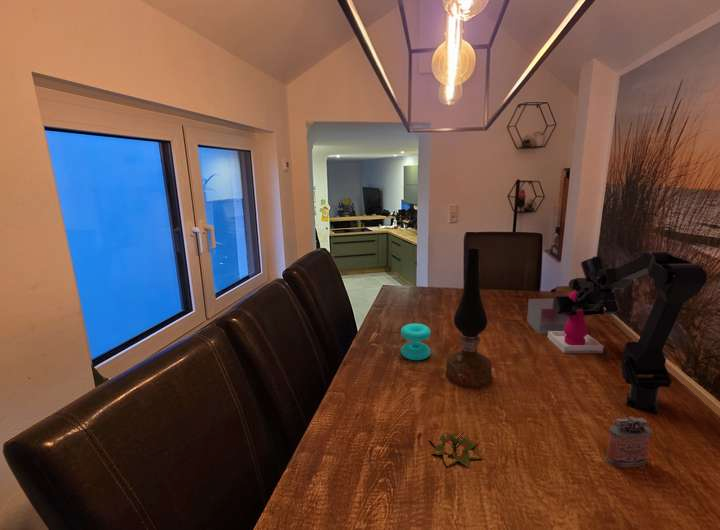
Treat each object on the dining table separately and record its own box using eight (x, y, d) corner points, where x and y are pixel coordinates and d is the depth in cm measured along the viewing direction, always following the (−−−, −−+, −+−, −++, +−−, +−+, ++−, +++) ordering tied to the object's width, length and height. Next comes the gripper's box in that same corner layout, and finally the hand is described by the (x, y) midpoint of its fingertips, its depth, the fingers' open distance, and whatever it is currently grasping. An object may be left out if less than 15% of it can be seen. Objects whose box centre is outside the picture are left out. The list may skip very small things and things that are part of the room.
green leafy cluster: (442, 477, 75) (442, 458, 74) (418, 439, 87) (418, 422, 86) (494, 465, 78) (495, 446, 77) (464, 429, 89) (465, 412, 88)
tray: (602, 353, 124) (603, 346, 123) (564, 353, 125) (564, 346, 124) (582, 337, 136) (583, 331, 136) (547, 337, 137) (548, 331, 136)
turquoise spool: (434, 332, 120) (403, 334, 119) (433, 360, 122) (404, 362, 122) (426, 321, 130) (398, 323, 129) (426, 347, 132) (398, 349, 131)
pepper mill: (583, 348, 125) (588, 290, 121) (560, 342, 130) (564, 287, 126) (589, 342, 130) (594, 286, 126) (566, 337, 135) (570, 283, 131)
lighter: (638, 453, 79) (644, 412, 77) (650, 465, 76) (658, 423, 74) (601, 455, 79) (607, 414, 77) (612, 467, 76) (618, 425, 74)
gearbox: (582, 333, 140) (586, 300, 137) (539, 333, 140) (541, 301, 138) (566, 321, 151) (570, 291, 148) (526, 322, 152) (529, 291, 149)
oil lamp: (461, 371, 122) (453, 250, 122) (505, 379, 111) (497, 247, 110) (436, 382, 113) (428, 251, 112) (482, 393, 101) (473, 248, 101)
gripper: (618, 271, 120) (594, 293, 133) (558, 272, 121) (541, 294, 134) (630, 302, 114) (605, 322, 127) (568, 303, 115) (549, 323, 128)
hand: (574, 314), depth 129 cm, fingers closed on pepper mill, 5 cm apart
